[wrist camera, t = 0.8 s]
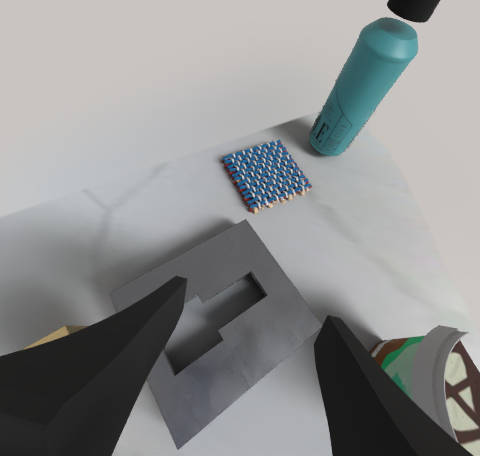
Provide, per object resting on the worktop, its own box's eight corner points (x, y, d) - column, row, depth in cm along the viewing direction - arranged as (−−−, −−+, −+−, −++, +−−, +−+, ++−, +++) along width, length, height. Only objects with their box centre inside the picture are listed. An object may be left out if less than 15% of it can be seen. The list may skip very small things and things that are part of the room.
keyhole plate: (181, 434, 20) (177, 450, 17) (120, 297, 24) (109, 293, 21) (310, 326, 25) (322, 326, 23) (242, 229, 29) (245, 219, 27)
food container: (331, 344, 25) (401, 352, 16) (376, 326, 26) (463, 324, 17) (391, 490, 20) (537, 618, 11) (441, 459, 22) (606, 551, 13)
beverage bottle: (349, 155, 38) (478, -7, 20) (321, 169, 35) (437, 2, 17) (323, 129, 39) (420, -40, 21) (295, 142, 37) (376, -35, 19)
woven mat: (311, 194, 34) (317, 186, 32) (250, 218, 31) (253, 211, 29) (277, 144, 37) (280, 135, 35) (219, 162, 34) (219, 152, 32)
